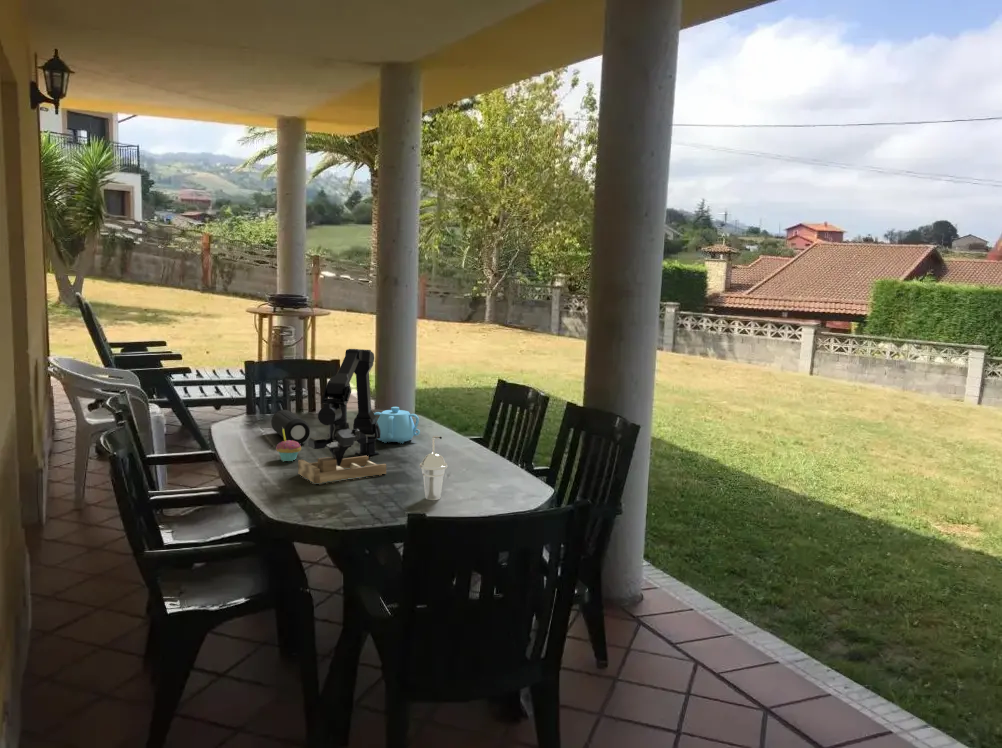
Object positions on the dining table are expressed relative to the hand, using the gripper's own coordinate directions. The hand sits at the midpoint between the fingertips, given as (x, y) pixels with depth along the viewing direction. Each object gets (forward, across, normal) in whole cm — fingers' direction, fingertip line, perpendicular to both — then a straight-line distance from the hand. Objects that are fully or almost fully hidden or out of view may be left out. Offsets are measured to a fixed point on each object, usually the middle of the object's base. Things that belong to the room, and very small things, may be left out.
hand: (338, 465), depth 263 cm
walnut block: (+1, -4, 0) cm, 4 cm away
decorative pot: (+4, +41, +36) cm, 54 cm away
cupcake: (+3, -6, +27) cm, 28 cm away
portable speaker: (+3, +7, +59) cm, 60 cm away
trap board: (+3, +2, 0) cm, 4 cm away
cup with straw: (+4, +13, -38) cm, 40 cm away
